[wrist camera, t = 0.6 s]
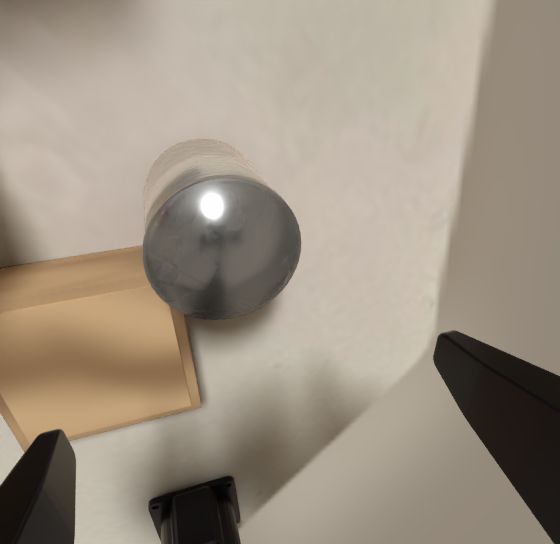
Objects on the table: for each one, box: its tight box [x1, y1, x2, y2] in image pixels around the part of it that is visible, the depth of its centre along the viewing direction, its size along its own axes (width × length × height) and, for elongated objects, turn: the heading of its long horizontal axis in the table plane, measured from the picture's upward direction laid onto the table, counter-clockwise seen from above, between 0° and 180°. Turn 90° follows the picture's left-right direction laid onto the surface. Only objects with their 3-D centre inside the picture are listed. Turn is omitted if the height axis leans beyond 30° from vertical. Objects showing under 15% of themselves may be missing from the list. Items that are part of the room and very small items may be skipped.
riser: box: [0, 246, 201, 452], centre depth 20 cm, size 9×9×3 cm
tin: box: [143, 139, 301, 320], centre depth 17 cm, size 6×6×6 cm
